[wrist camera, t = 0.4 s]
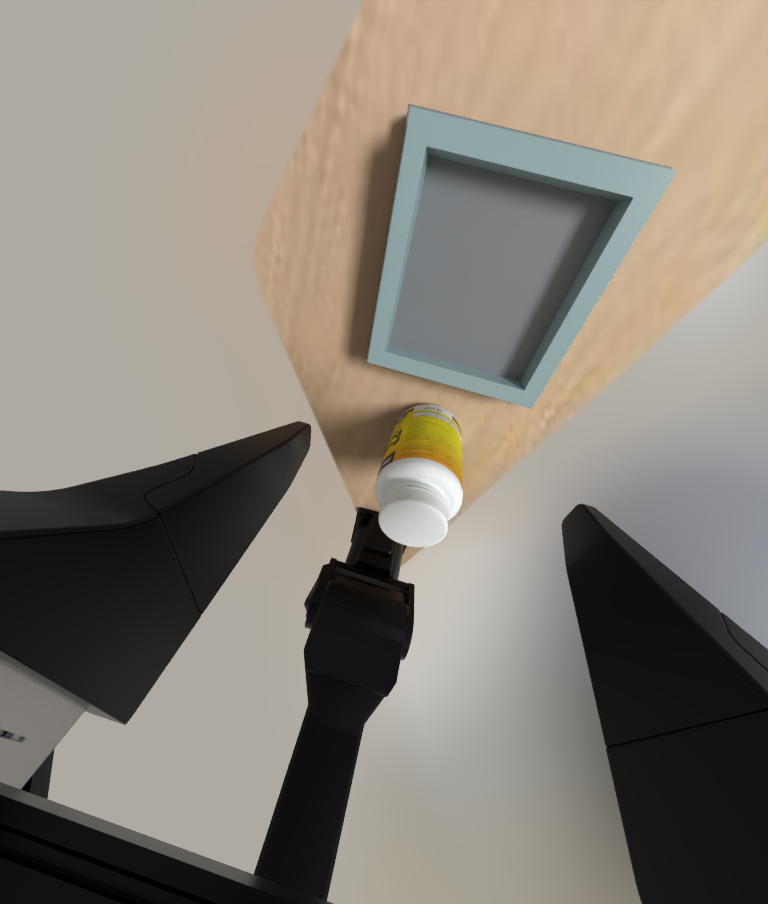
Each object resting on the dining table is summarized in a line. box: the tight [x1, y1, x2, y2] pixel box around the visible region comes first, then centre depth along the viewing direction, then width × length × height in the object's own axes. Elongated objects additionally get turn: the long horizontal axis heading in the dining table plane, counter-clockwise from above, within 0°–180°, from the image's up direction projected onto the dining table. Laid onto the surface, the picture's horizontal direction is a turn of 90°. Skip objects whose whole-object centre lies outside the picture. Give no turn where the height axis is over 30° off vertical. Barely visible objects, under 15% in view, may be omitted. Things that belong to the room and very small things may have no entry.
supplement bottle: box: [375, 404, 463, 547], centre depth 20 cm, size 6×6×10 cm
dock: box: [366, 104, 676, 409], centre depth 16 cm, size 12×12×2 cm
